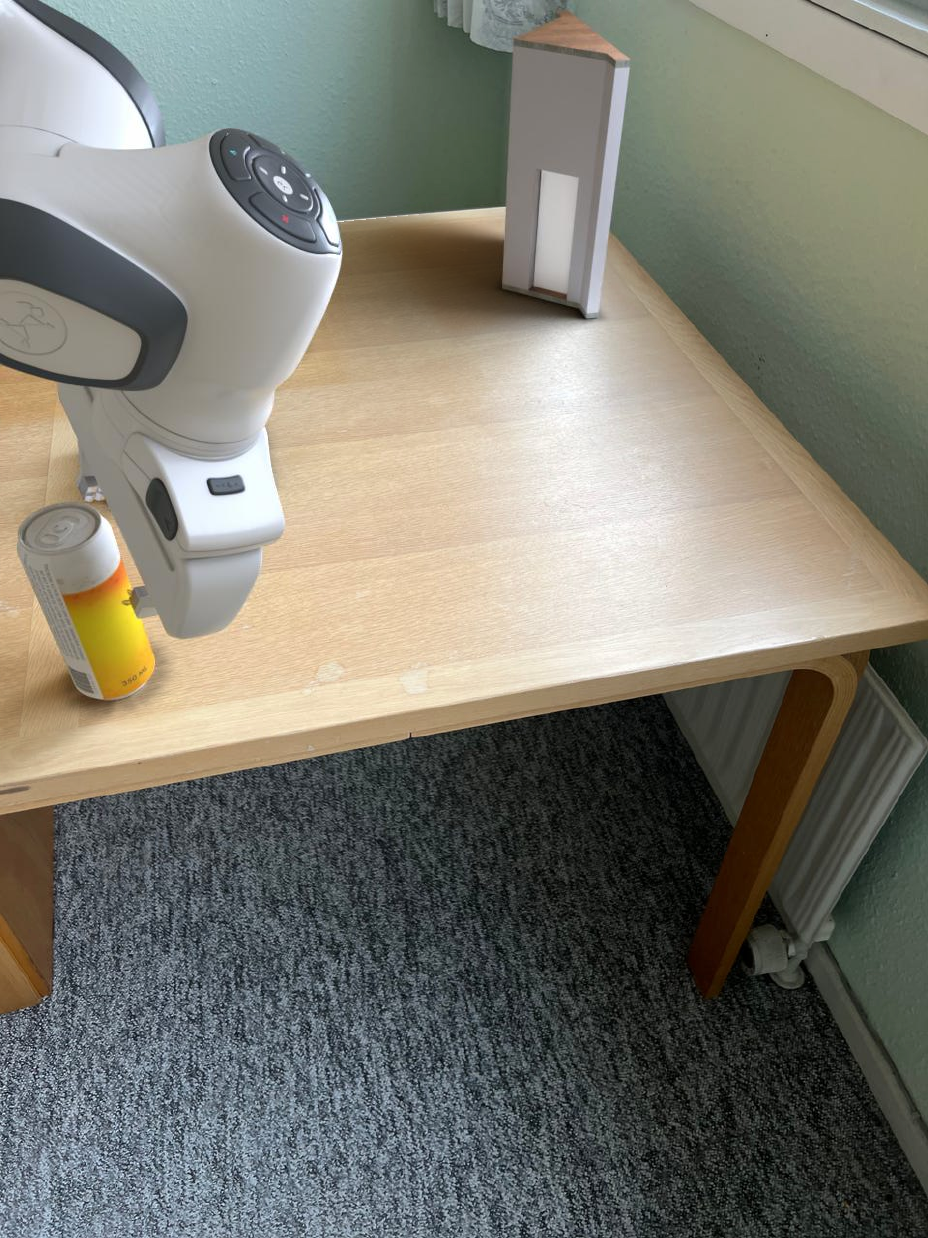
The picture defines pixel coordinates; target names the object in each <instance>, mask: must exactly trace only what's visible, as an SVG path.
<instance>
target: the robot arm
mask: <svg viewBox="0 0 928 1238" xmlns="http://www.w3.org/2000/svg"><path fill="white" fill-rule="evenodd" d="M342 260H343V242H342V237H341V231H340V227H339V224H338V220H337V217H336V214H335V212H334V209H333V207H332V205H331V203H330V200H329V199H328V197H327V195H326V194H325V193H324V192H323V190H322V189H321V187H320V186H319V184H318V183H317V182H316V181H315V180H314V178H313V177H312V175H311V174H310V172H309V171H307V169H306V168H305V167H304V166H303V165H302V164H300V162H299V161H298V160H297V159H295V158H294V157H293V156H291V155H290V154H289V153H288V152H287V151H285V150H284V149H282V148H281V147H279V146H278V145H276V144H275V143H273V142H271V141H270V140H268V139H266V138H263V137H261V136H259V135H257V134H255V133H253V132H251V131H247V130H244V129H240V128H234V127H223V128H217V129H216V130H213V131H212V132H210V133H207V134H205V135H204V136H201V137H199V138H197V139H193V140H191V141H186V142H182V143H176V144H170V145H167V140H166V130H165V125H164V119H163V116H162V112H161V110H160V107H159V104H158V102H157V99H156V97H155V95H154V93H153V91H152V90H151V88H150V86H149V85H148V83H147V81H146V80H145V78H144V76H143V75H142V73H140V71H139V70H138V69H137V68H136V66H135V65H134V64H133V63H132V61H131V60H129V59H128V57H127V56H126V55H125V54H124V53H123V52H121V50H119V49H118V48H117V47H116V46H115V45H114V44H113V43H111V42H110V41H109V40H108V39H106V38H105V37H103V36H102V35H100V34H99V33H97V32H96V31H94V30H92V29H91V28H90V27H88V26H86V25H85V24H83V23H81V22H80V21H77V20H76V19H74V18H72V17H70V16H69V15H67V14H65V13H63V12H61V11H59V10H58V9H56V8H54V7H52V6H50V5H48V4H47V3H45V2H43V1H41V0H0V366H3V367H6V368H8V369H11V370H14V371H17V372H20V373H23V374H25V375H30V376H33V377H36V378H40V379H44V380H48V381H50V382H51V381H52V382H56V385H57V386H56V387H57V396H58V397H57V398H58V400H59V402H60V404H61V406H62V407H61V408H63V411H64V413H65V416H66V417H67V420H68V421H69V424H70V426H71V428H72V431H73V433H74V434H75V437H76V439H77V450H78V464H79V465H78V466H79V472H78V475H77V478H76V481H75V484H76V486H77V489H78V491H79V493H80V495H81V498H82V499H83V501H84V502H85V503H90V502H93V501H94V500H95V501H97V502H98V501H99V502H100V501H105V502H106V504H107V507H108V509H109V511H110V513H111V516H113V520H114V522H115V524H116V526H117V528H118V530H119V532H120V535H121V538H122V539H123V541H124V544H125V546H126V548H127V550H128V552H129V554H130V556H131V558H132V561H133V563H134V565H135V567H136V569H137V572H138V574H139V576H140V578H141V581H142V583H143V585H140V586H134V587H133V589H132V593H131V596H130V597H129V601H130V603H131V605H132V608H133V610H134V613H135V615H136V617H137V618H138V619H142V620H143V619H147V618H151V617H155V616H158V617H159V619H160V621H161V624H162V627H163V629H164V632H166V634H167V635H168V636H169V637H171V638H173V639H177V640H192V639H196V638H200V637H205V636H209V635H213V634H215V633H216V634H217V633H219V632H221V631H223V630H225V629H227V628H228V627H229V626H230V625H231V624H232V623H233V621H234V620H235V619H236V618H237V616H238V614H239V613H240V611H241V610H242V608H243V607H244V605H245V603H246V602H247V600H248V598H249V596H250V595H251V593H252V591H253V589H254V587H255V585H256V583H257V582H258V578H259V576H260V573H261V569H262V566H263V565H262V564H263V548H264V547H267V546H270V545H273V544H276V543H277V542H279V540H280V539H281V538H282V536H283V535H284V533H285V529H286V520H285V519H286V518H285V515H284V511H283V507H282V503H281V500H280V496H279V493H278V490H277V486H276V482H275V478H274V473H273V469H272V463H271V456H270V446H269V438H268V432H267V429H266V426H265V425H267V422H268V420H269V418H270V416H271V414H272V411H273V406H274V401H275V393H276V391H277V389H278V388H279V387H280V386H281V385H283V384H284V383H285V382H286V381H287V380H288V379H289V378H291V376H292V375H293V374H294V372H295V371H296V370H297V368H298V367H299V365H300V363H301V361H302V359H303V357H304V356H305V353H306V352H307V350H308V348H309V346H310V344H311V342H312V340H313V338H314V335H315V334H316V332H317V330H318V329H319V326H320V324H321V321H322V319H323V317H324V315H325V312H326V310H327V308H328V305H329V303H330V300H331V297H332V295H333V292H334V290H335V287H336V284H337V281H338V279H339V276H340V275H339V274H340V271H341V268H342Z"/></svg>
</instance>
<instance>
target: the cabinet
mask: <svg viewBox="0 0 928 1238" xmlns="http://www.w3.org/2000/svg"><path fill="white" fill-rule="evenodd" d="M512 46H513V47H512V65H511V67H512V68H511V69H512V70H511V85H510V86H511V89H510V109H509V132H508V153H507V171H506V172H507V174H506V176H507V177H506V196H505V214H504V215H505V216H504V217H505V219H504V239H503V260H502V261H503V262H502V281H501V282H502V283H501V289H503V290H506V291H510V292H515V293H518V294H522V295H526V296H529V297H534V298H537V299H540V300H545V301H549V302H551V303H552V302H553V303H555V304H556V303H557V304H558V305H559V304H560V305H563V306H567V307H572V308H575V309H579V311H580V312H581V313H582V315H583V316H584V318H585V319H596V318H599V316H600V315H599V314H600V307H601V306H600V305H601V298H602V291H603V284H604V274H605V268H606V267H605V266H606V259H607V250H608V244H609V243H608V242H609V234H610V226H611V219H612V213H613V204H614V203H613V202H614V195H615V188H616V179H617V174H618V173H617V171H618V165H619V164H618V163H619V156H620V148H621V141H622V132H623V125H624V116H625V109H626V100H627V92H628V85H629V77H630V70H631V59H630V58H629V57H628V56H627V55H625V54H623V52H621V51H620V50H619V49H617V47H615V46H613V45H612V44H611V43H610V42H609V41H607V40H606V39H605V38H604V37H602V36H601V35H600V34H599V33H597V32H596V31H595V30H593V29H592V28H591V27H590V26H588V25H587V23H584V21H582V20H581V19H580V18H578V17H577V16H576V15H574V13H572V12H570V11H569V10H566V9H565V10H555V11H554V19H553V20H551V21H549V22H547V23H544V24H543V25H540V26H538V27H536V28H534V29H532V30H530V31H528V32H525V33H523V34H521V35H518V36H517V37H514V38H513V45H512Z"/></svg>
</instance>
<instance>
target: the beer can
mask: <svg viewBox="0 0 928 1238" xmlns="http://www.w3.org/2000/svg"><path fill="white" fill-rule="evenodd" d="M17 538H18V539H17V544H16V553H17V556H18V558H19V561H20V563H21V565H22V567H23V570H24V572H25V574H26V576H27V579H28V581H29V584H30V586H31V588H32V590H33V592H34V595H35V597H36V599H37V602H38V604H39V607H40V609H41V611H42V613H43V615H44V618H45V620H46V622H47V625H48V627H49V629H50V632H51V634H52V636H53V638H54V641H55V643H56V645H57V648H58V650H59V652H60V655H61V657H62V659H63V661H64V663H65V666H66V669H67V671H68V673H69V675H70V678H71V680H72V682H73V684H74V686H75V688H76V689H77V690H78V691H79V692H80V693H81V694H82V695H85V696H87V697H89V698H92V699H97V700H100V701H117V700H122V699H125V698H127V697H130V696H132V695H134V694H136V693H137V692H138V691H140V690H141V689H142V688H143V687H144V686H145V685H146V684H147V682H148V680H149V679H150V678H151V676H152V674H153V673H154V671H155V667H156V666H155V665H156V660H155V655H154V653H153V649H152V646H151V643H150V640H149V637H148V634H147V631H146V627H145V625H144V622H143V618H142V619H138V618H137V617H136V615H135V613H134V610H133V608H132V605H131V603H130V601H129V597H130V596H131V593H132V591H133V589H132V586H131V581H130V580H129V577H128V574H127V571H126V567H125V564H124V561H123V558H122V555H121V552H120V548H119V547H118V546H119V545H118V544H117V540H116V537H115V534H114V531H113V528H112V525H111V523H110V522H109V521H108V520H107V519H106V518H105V517H103V515H102V514H101V512H100V511H99V510H98V509H97V508H95V507H94V506H92V505H90V504H87V503H86V502H80V501H63V502H56V503H53V504H52V503H51V504H49V505H46V506H43V507H41V508H39V509H37V510H35V511H34V512H32V513H31V514H29V515H28V516H27V517H26V518H24V520H23V521H22V522H21V523H20V525H19V527H18V531H17Z"/></svg>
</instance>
